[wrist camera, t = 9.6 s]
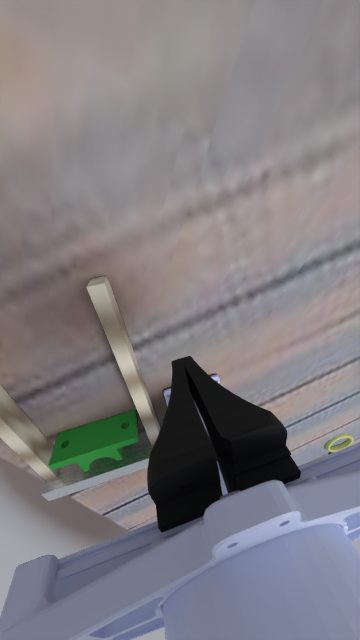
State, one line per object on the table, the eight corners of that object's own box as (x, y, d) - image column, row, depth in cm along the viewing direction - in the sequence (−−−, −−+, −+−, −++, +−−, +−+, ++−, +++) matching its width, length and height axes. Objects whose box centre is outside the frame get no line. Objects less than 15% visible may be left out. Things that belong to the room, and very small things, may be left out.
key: (321, 463, 53) (328, 472, 51) (323, 439, 47) (331, 448, 45) (345, 452, 53) (353, 461, 51) (350, 427, 47) (359, 435, 45)
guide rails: (159, 426, 31) (162, 442, 29) (51, 461, 29) (45, 480, 27) (107, 275, 19) (104, 283, 17) (-81, 316, 17) (-111, 331, 15)
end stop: (162, 434, 32) (166, 460, 28) (58, 468, 30) (48, 501, 26) (159, 426, 31) (163, 453, 27) (51, 461, 29) (41, 494, 25)
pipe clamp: (70, 445, 29) (61, 479, 25) (59, 431, 27) (47, 465, 23) (142, 423, 30) (143, 453, 26) (135, 408, 28) (136, 437, 24)
